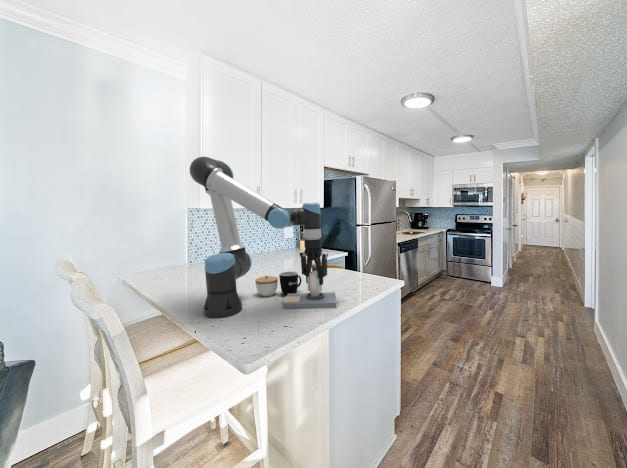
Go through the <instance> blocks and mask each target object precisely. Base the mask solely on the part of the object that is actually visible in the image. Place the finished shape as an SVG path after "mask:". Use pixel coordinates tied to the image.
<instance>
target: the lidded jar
mask: <svg viewBox="0 0 627 468" xmlns="http://www.w3.org/2000/svg"><path fill="white" fill-rule="evenodd" d="M278 279H279V278H278V277H276V276H271V275H267V274H266V275H264V276H262V277H258V278H255V287H256V291H257V293H258V294H260V296H262V297H272V296H274V294H275V293H276V291H277V290H278Z"/></svg>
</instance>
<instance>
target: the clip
mask: <svg viewBox="0 0 627 468" xmlns="http://www.w3.org/2000/svg"><path fill="white" fill-rule="evenodd" d="M321 266H322V263H321ZM312 268H316V264H315V263H312V267H311V269H312ZM342 268H343V266H342V264H329V263H327V269H342Z"/></svg>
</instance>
